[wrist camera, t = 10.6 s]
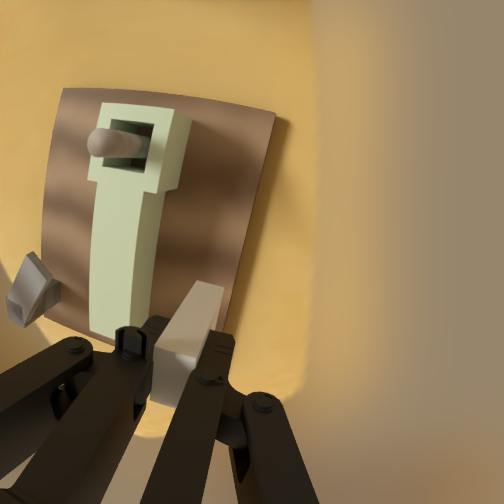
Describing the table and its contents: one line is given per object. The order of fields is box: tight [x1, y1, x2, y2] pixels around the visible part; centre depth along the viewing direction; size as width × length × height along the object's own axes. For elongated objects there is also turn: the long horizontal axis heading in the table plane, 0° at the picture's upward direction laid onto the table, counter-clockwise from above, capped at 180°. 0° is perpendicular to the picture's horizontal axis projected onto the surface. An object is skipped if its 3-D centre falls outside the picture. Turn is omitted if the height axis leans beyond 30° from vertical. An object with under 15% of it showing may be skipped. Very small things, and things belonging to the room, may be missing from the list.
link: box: [87, 103, 192, 340], centre depth 24 cm, size 19×6×5 cm, turn 167°
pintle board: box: [6, 88, 276, 346], centre depth 22 cm, size 26×22×10 cm
